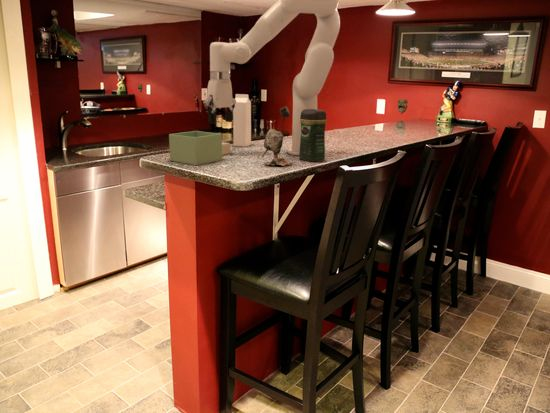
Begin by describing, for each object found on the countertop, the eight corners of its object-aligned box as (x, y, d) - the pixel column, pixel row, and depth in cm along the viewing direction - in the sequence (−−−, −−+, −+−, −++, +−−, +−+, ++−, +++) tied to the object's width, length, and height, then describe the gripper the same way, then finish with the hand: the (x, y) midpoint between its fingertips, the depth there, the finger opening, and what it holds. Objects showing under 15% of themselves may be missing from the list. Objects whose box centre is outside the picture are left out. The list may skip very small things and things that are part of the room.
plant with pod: (272, 160, 163) (272, 105, 157) (295, 165, 156) (297, 106, 150) (256, 163, 157) (256, 105, 152) (279, 168, 150) (280, 107, 144)
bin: (222, 159, 164) (221, 133, 161) (196, 165, 153) (195, 137, 151) (196, 155, 171) (195, 130, 168) (170, 160, 161) (168, 134, 158)
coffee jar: (328, 160, 164) (330, 109, 159) (311, 163, 160) (313, 110, 155) (311, 156, 172) (313, 107, 167) (295, 158, 168) (296, 108, 162)
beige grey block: (230, 153, 177) (230, 143, 176) (222, 154, 174) (222, 144, 173) (221, 151, 180) (220, 141, 179) (213, 153, 177) (213, 143, 176)
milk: (238, 144, 201) (238, 93, 195) (251, 145, 199) (251, 94, 193) (233, 146, 195) (232, 94, 189) (246, 146, 194) (245, 94, 187)
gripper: (228, 77, 178) (228, 120, 182) (196, 76, 164) (197, 123, 169) (242, 77, 173) (242, 122, 178) (211, 76, 160) (212, 125, 165)
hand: (220, 122), depth 174 cm, fingers open, 9 cm apart
